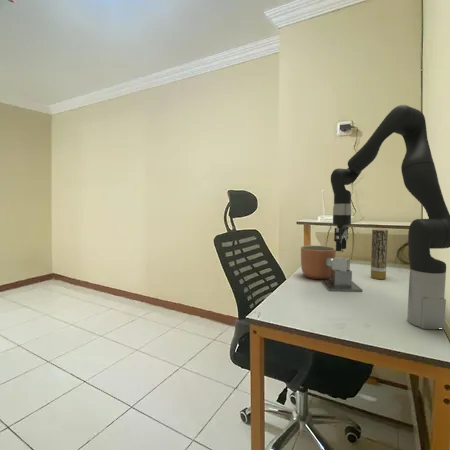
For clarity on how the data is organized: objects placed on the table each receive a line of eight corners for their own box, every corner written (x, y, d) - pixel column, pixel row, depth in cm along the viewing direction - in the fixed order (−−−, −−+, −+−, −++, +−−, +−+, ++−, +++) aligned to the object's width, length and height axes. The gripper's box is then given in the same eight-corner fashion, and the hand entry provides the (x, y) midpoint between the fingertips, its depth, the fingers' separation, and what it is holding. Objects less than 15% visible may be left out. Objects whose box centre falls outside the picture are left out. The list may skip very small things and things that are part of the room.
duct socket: (362, 291, 122) (362, 273, 121) (328, 290, 123) (328, 272, 123) (351, 282, 135) (352, 266, 135) (321, 281, 137) (321, 265, 136)
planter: (305, 271, 158) (306, 244, 156) (338, 275, 149) (339, 246, 147) (295, 278, 143) (296, 248, 142) (331, 283, 134) (331, 251, 133)
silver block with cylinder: (349, 281, 130) (350, 258, 129) (346, 285, 125) (346, 260, 124) (328, 278, 135) (329, 255, 134) (324, 281, 130) (325, 258, 130)
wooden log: (387, 280, 140) (390, 229, 138) (372, 279, 141) (374, 229, 139) (383, 276, 146) (385, 228, 144) (368, 275, 148) (370, 228, 146)
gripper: (347, 214, 119) (346, 252, 120) (354, 213, 130) (353, 248, 131) (328, 214, 123) (327, 251, 124) (337, 213, 135) (336, 247, 136)
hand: (341, 249), depth 128 cm, fingers open, 8 cm apart
